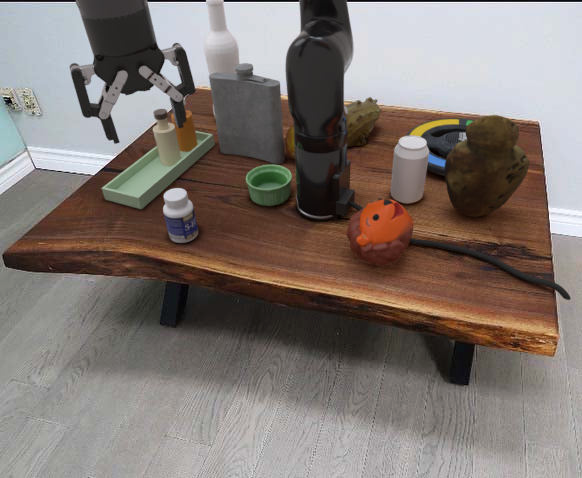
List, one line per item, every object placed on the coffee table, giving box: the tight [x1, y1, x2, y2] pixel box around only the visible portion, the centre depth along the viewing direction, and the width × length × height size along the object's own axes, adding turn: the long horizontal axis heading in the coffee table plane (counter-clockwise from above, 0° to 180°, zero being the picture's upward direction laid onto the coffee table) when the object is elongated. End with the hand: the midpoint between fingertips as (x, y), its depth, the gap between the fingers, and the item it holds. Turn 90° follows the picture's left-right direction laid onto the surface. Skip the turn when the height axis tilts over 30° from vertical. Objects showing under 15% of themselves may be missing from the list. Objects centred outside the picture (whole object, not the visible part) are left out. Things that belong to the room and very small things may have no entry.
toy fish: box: [346, 198, 415, 267], centre depth 82 cm, size 12×10×11 cm
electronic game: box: [405, 117, 517, 177], centre depth 107 cm, size 23×23×5 cm
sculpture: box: [444, 114, 530, 218], centre depth 86 cm, size 13×8×20 cm, turn 70°
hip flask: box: [208, 62, 286, 165], centre depth 107 cm, size 16×4×20 cm, turn 66°
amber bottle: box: [170, 97, 198, 152], centre depth 112 cm, size 5×5×12 cm
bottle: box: [203, 0, 240, 117], centre depth 118 cm, size 8×8×30 cm
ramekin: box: [245, 164, 293, 207], centre depth 99 cm, size 9×9×4 cm
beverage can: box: [389, 135, 430, 205], centre depth 94 cm, size 6×6×12 cm
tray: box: [101, 130, 216, 210], centre depth 109 cm, size 9×27×3 cm, turn 155°
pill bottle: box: [162, 187, 199, 244], centre depth 89 cm, size 5×5×9 cm
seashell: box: [345, 96, 383, 148], centre depth 115 cm, size 11×15×10 cm
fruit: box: [284, 124, 295, 160], centre depth 108 cm, size 10×9×8 cm
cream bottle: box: [152, 108, 182, 166], centre depth 107 cm, size 5×5×12 cm
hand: (148, 133), depth 67 cm, fingers open, 8 cm apart
